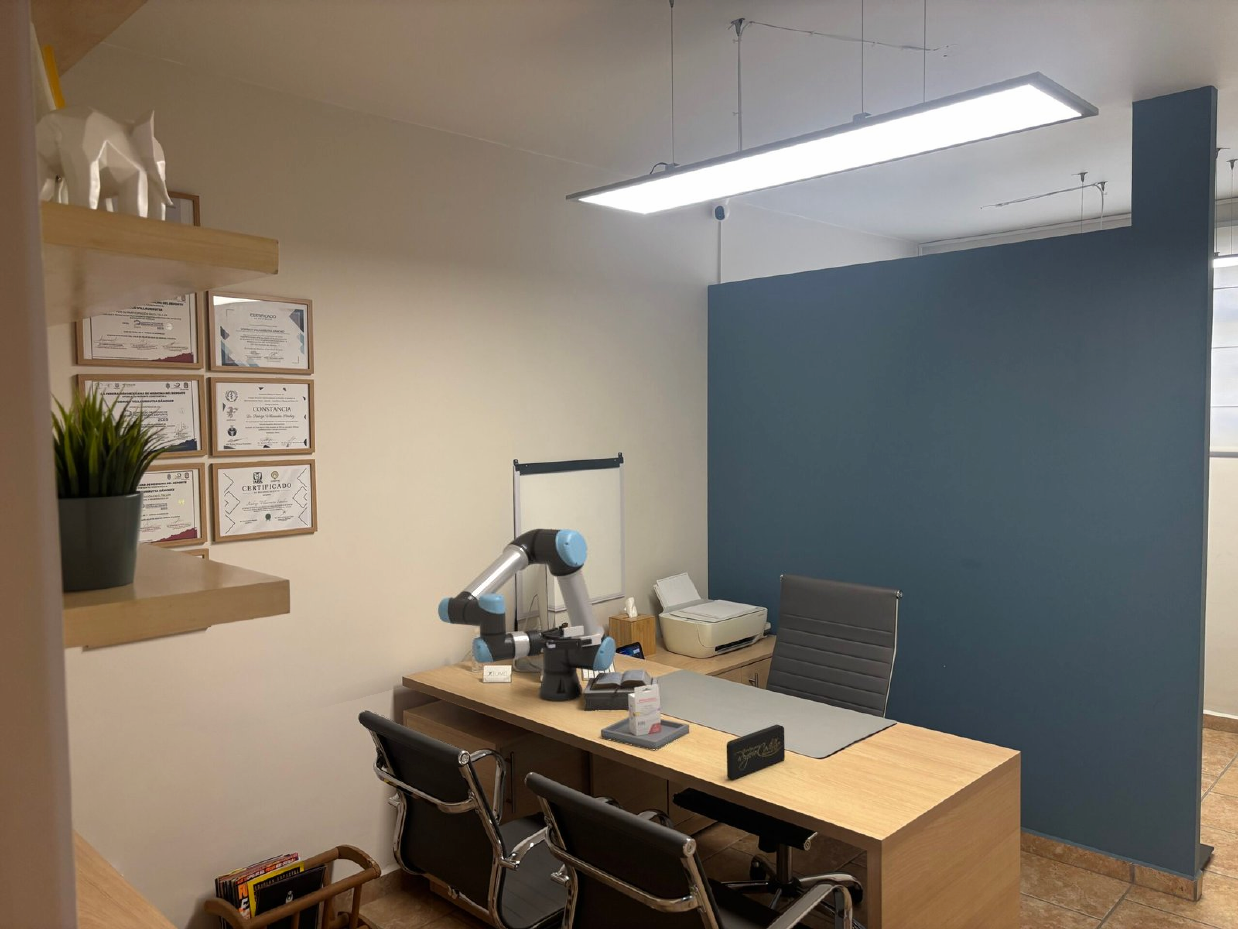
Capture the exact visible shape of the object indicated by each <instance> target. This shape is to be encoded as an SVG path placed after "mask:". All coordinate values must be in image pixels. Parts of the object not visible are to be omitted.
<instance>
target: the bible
mask: <svg viewBox="0 0 1238 929" xmlns="http://www.w3.org/2000/svg"><path fill="white" fill-rule="evenodd" d="M587 681H588V682H587V683H586V687H585V689H584V691H583V696H584V697H583V698H584V703H585V704H584V712H595V710H597V711H598V710H627V711H629V700H628V694H632V693H635V692H634V688H635V687H641V686H647V685H654V684H658V681H659V677H658V676H650V674H649V673H648V672H647V670H646V669H643V668H641V669H627V670H625V671H624V673H623V672H622V673H621V672H619V671H610V672H599V673H598V674H597V675H596V677H589V679H588V680H587ZM658 685H659V684H658ZM650 690H651V689H647V688H646V689H645V690H643V691H642V692H645V691H650ZM597 711H596V712H597ZM598 712H599V711H598Z"/></svg>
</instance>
